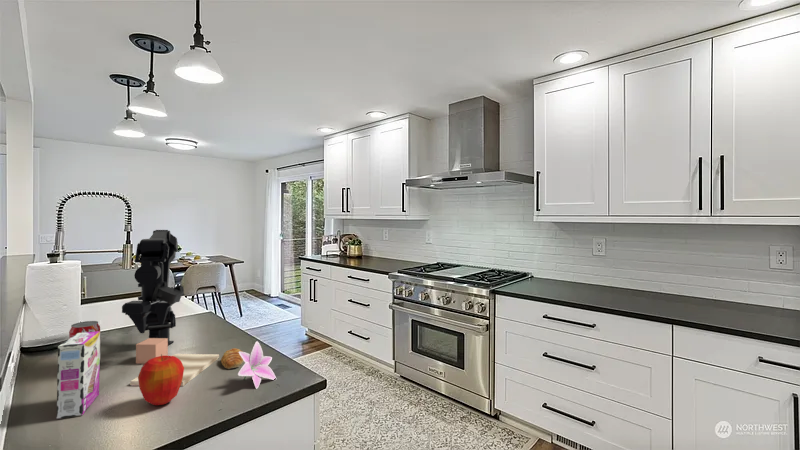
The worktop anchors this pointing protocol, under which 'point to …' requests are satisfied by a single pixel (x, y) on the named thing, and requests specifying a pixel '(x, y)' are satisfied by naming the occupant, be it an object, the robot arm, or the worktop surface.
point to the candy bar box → (78, 374)
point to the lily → (256, 365)
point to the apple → (160, 379)
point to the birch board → (190, 366)
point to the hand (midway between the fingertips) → (152, 328)
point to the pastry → (232, 358)
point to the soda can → (84, 328)
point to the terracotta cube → (151, 349)
